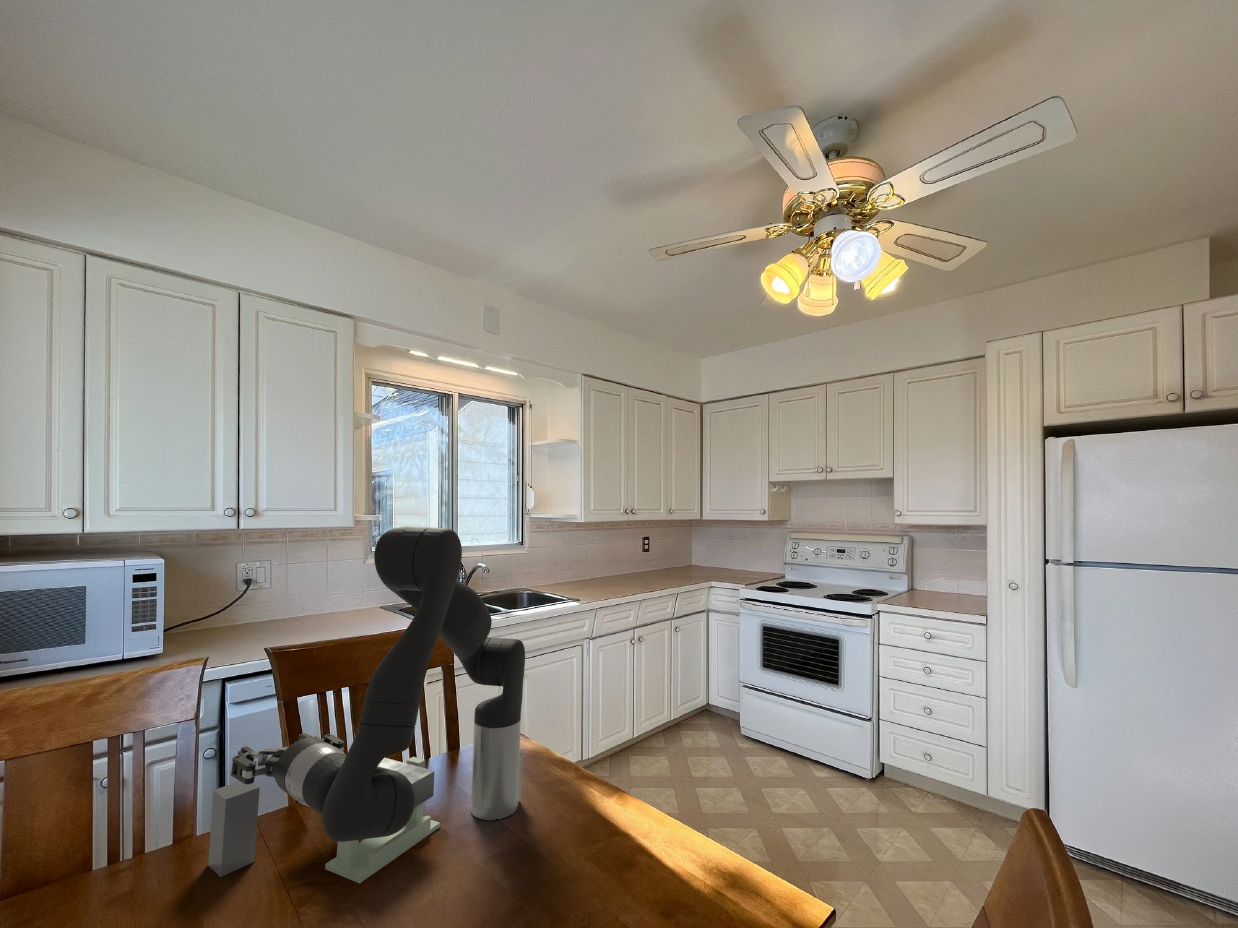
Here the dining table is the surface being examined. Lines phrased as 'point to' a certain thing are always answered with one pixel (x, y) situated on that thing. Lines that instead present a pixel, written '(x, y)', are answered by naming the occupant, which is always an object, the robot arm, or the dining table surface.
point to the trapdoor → (414, 778)
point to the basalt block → (233, 827)
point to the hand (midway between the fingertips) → (272, 746)
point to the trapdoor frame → (381, 845)
